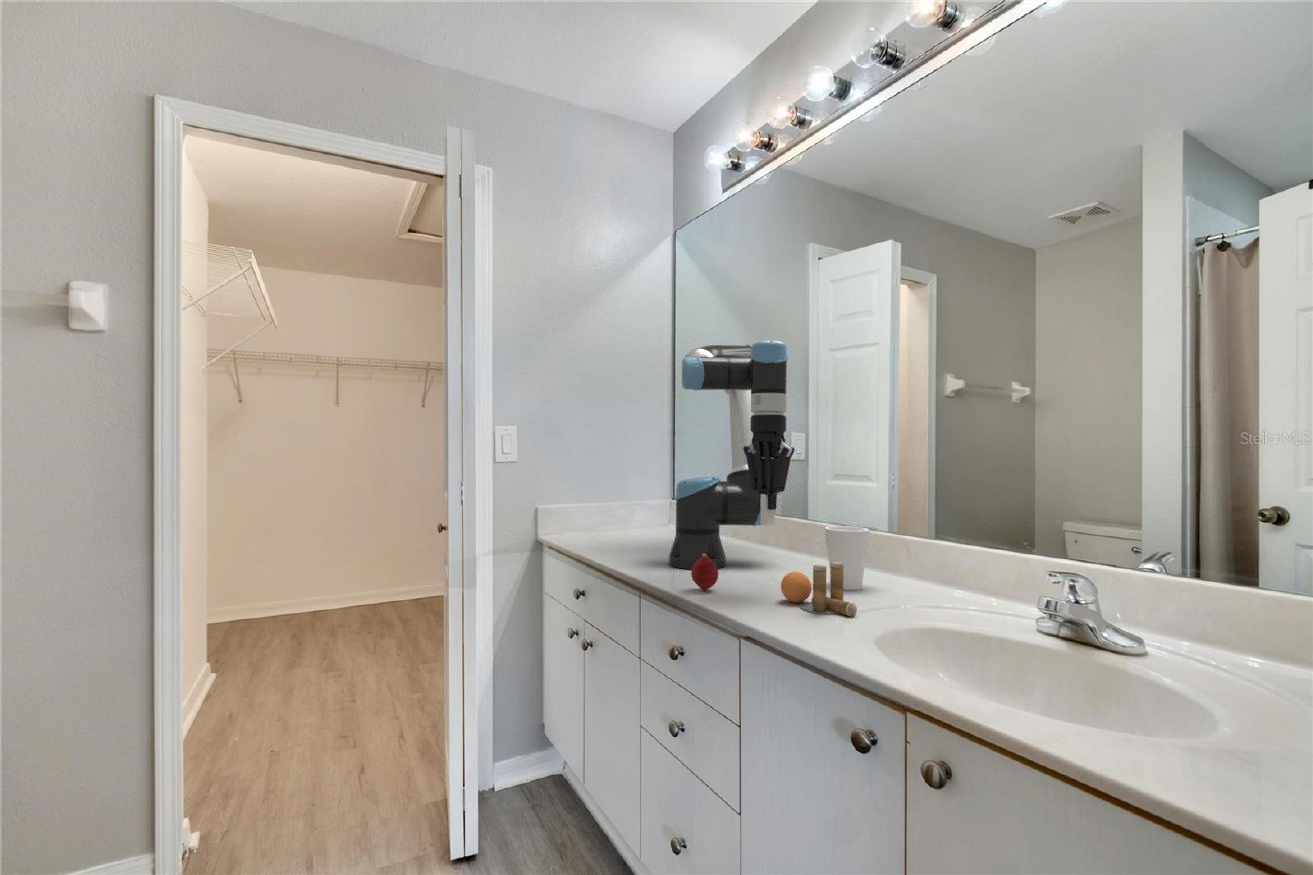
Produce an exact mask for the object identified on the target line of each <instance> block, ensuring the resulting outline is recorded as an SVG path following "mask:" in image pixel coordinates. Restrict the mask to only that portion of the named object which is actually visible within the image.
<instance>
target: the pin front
mask: <svg viewBox="0 0 1313 875" xmlns="http://www.w3.org/2000/svg"><path fill="white" fill-rule="evenodd" d="M811 602H812V605H813V596H812V598H811ZM826 610H830V611H833V612H837V613H839V614H840V615H844V616H848V617H851V618H854V617H855V616H856V614H857V611H858V608H857V605H856V603H853V602H849V601H845V600H843V601H842V600H838V599H834V598H830V596H826Z"/></svg>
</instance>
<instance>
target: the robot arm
mask: <svg viewBox="0 0 1313 875" xmlns="http://www.w3.org/2000/svg"><path fill="white" fill-rule="evenodd" d="M681 361H682V362H681V387H682V389H684V390H693V391H715V390H716V391H719V390H720V391H721V390H723V391H724V393H725V394H726V395H728V396H729V397H728V398H729V419H730V420H729V423H730V427H729V428H730V447H731V448H730V449H731V470H730V472H729V473H728V474H726V481H722V480H721V478H720V475H711V476H701V477H693V478H686V479H682V480H679V482H678V483H677V484H676V492H675V497H674V498H675V500H676V503H675V504H676V505H675V506H676V507H675V537H674V539H673V542H672V545H671V549H670V552H669V554H668V565H669V566H671V567H674V568H678V569H683V570H685V569H686V570H692V568H693V566H694V564H695V563H696V562H697V561H698V560H699V559H700V558H702V553H704V554H706V555H707V556H708V558H709V559H711V560H712V561H713V562H714V563H715V564H716V566H717V569H721V568H723V567H724V568H725V567H726V566H727V557H726V553H725V551H724V547H723V544H722V540H721V537H720V526H753V527H757V526H773V525H775V514H776V510H777V508H778V507H777V503H778V494H780V493H782V492H785V490H786V484H787V480H788V475H789V468H790V463H791V460H792V459H791V458H792V457H793V455H794V453H795V448H794V447H793V446H792V447H791V446H789V445H788V444H787V443H786V438H785V434H784V433H786V431H787V417H786V415H784V414H786V412H787V371H788V370H787V366H788V365H787V364H788V355H787V345H786V343H785V342H783V341H780V340H762V341H756V342H754V343H753V344H752V345H751V344H746V345H730V344H729V345H715V344H712V345H705V346H700V347H698V348H695V349H692V350H690V351H689V352H688V353H687V354H686V355H685V356H684V358H683V359H682V360H681Z"/></svg>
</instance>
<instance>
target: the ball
mask: <svg viewBox="0 0 1313 875" xmlns="http://www.w3.org/2000/svg"><path fill="white" fill-rule="evenodd" d="M780 590H781V593H782V595H783V597H784V598H785V599H786V600H788V601H790V602H792V603H802V602H804V601H806V600H807V599H808V598H809V597H810V596H811V594H812V583H811V580H810V579H809V577H808V576H807V575H806V574H804V573H802V572H800V571H791V572H788V573H787V574H785V575H784V576H783V578H782V580H781V582H780Z"/></svg>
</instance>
